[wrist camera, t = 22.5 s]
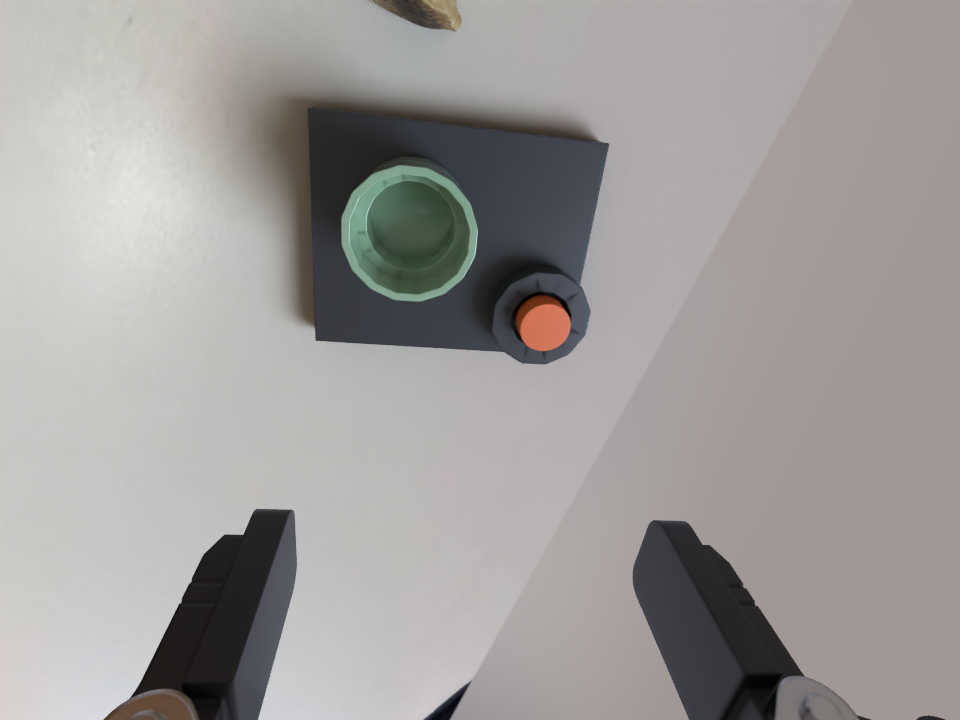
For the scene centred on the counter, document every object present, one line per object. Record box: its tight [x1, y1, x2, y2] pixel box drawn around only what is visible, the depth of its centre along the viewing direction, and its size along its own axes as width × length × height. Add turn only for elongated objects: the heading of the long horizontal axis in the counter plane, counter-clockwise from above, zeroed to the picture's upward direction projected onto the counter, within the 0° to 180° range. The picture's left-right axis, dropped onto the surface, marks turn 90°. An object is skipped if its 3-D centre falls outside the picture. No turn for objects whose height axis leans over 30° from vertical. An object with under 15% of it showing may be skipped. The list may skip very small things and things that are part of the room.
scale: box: [308, 107, 609, 364], centre depth 30 cm, size 16×13×3 cm
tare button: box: [516, 295, 571, 351], centre depth 30 cm, size 3×3×2 cm
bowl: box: [341, 156, 478, 302], centre depth 26 cm, size 6×6×5 cm
